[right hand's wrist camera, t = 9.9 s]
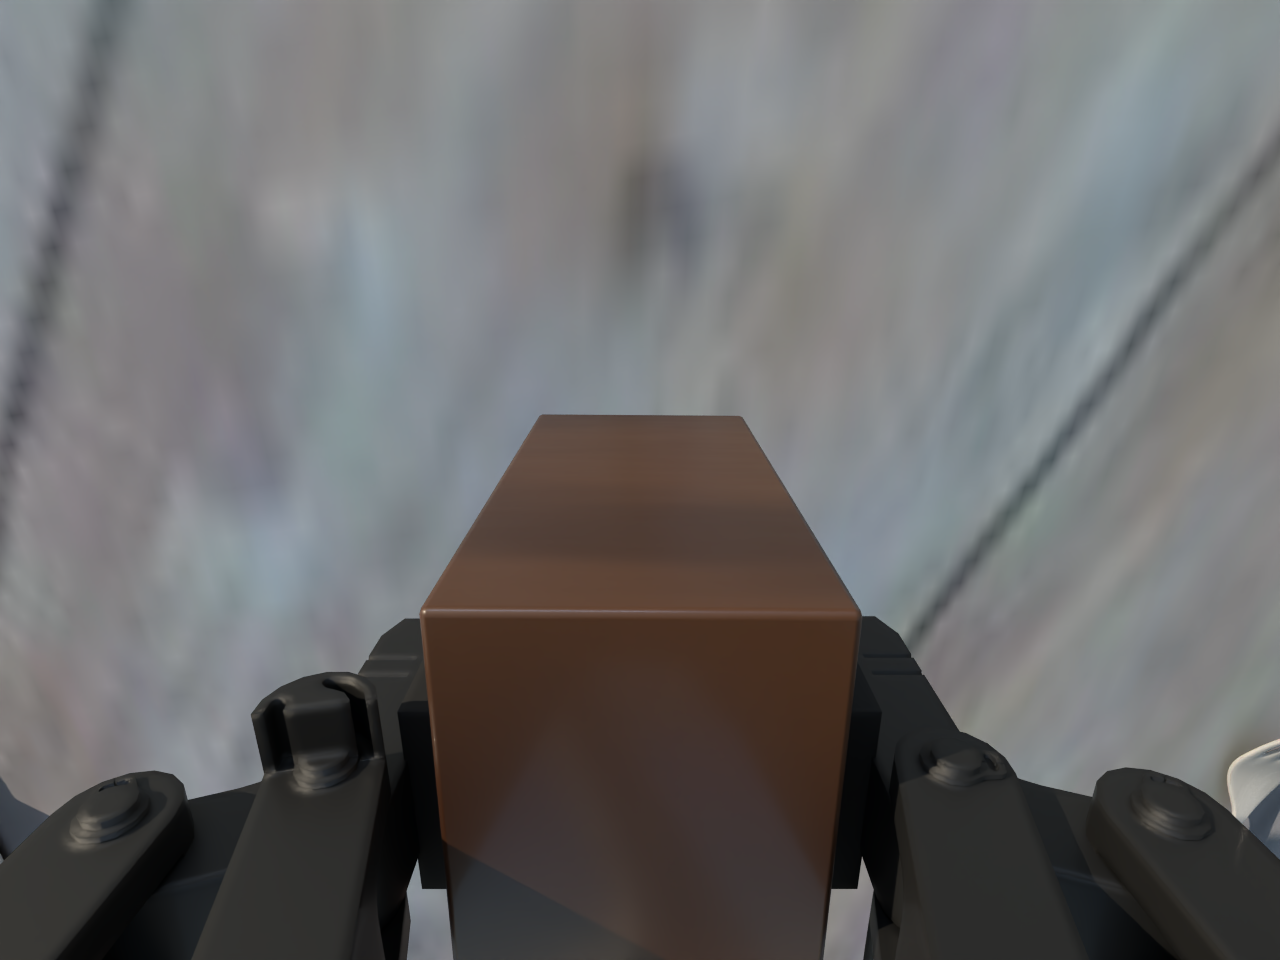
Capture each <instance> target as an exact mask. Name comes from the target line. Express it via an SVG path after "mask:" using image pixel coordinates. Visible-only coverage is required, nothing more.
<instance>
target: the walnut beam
mask: <svg viewBox="0 0 1280 960" xmlns="http://www.w3.org/2000/svg"><path fill="white" fill-rule="evenodd" d="M419 615H420V625H421V635H422V645H423V655H424V665H425V676H426V686H427V696H428V706H429V716H430V726H431V736H432V747H433V757H434V767H435V777H436V787H437V797H438V807H439V817H440V828H441V838H442V848H443V858H444V868H445V878H446V888H447V899H448V909H449V919H450V929H451V939H452V949H453V959H454V960H823V956H824V947H825V939H826V930H827V921H828V913H829V904H830V895H831V887H832V878H833V869H834V860H835V852H836V843H837V834H838V826H839V817H840V808H841V800H842V791H843V782H844V773H845V765H846V756H847V747H848V739H849V730H850V721H851V713H852V704H853V695H854V687H855V678H856V669H857V660H858V652H859V643H860V634H861V626H862V614H861V611H860V609H859V607H858V606H857V604H856V603H855V601H854V599H853V598H852V596H851V594H850V593H849V591H848V589H847V588H846V586H845V585H844V583H843V581H842V580H841V578H840V576H839V575H838V573H837V571H836V570H835V568H834V567H833V565H832V563H831V562H830V560H829V558H828V557H827V555H826V553H825V552H824V550H823V549H822V547H821V545H820V544H819V542H818V540H817V539H816V537H815V535H814V534H813V532H812V531H811V529H810V527H809V526H808V524H807V522H806V521H805V519H804V517H803V516H802V514H801V513H800V511H799V509H798V508H797V506H796V504H795V503H794V501H793V499H792V498H791V496H790V495H789V493H788V491H787V490H786V488H785V486H784V485H783V483H782V481H781V480H780V478H779V477H778V475H777V473H776V472H775V470H774V468H773V467H772V465H771V463H770V462H769V460H768V459H767V457H766V455H765V454H764V452H763V450H762V449H761V447H760V445H759V444H758V442H757V441H756V439H755V437H754V436H753V434H752V432H751V431H750V429H749V427H748V426H747V424H746V423H745V421H744V419H743V418H742V417H740V416H669V415H541V416H539V418H538V419H537V421H536V423H535V424H534V426H533V428H532V429H531V431H530V432H529V434H528V436H527V437H526V439H525V441H524V442H523V444H522V445H521V447H520V449H519V450H518V452H517V454H516V455H515V457H514V458H513V460H512V462H511V463H510V465H509V467H508V468H507V470H506V471H505V473H504V475H503V476H502V478H501V480H500V481H499V483H498V484H497V486H496V488H495V489H494V491H493V493H492V494H491V496H490V497H489V499H488V501H487V502H486V504H485V506H484V507H483V509H482V510H481V512H480V514H479V515H478V517H477V519H476V520H475V522H474V523H473V525H472V527H471V528H470V530H469V532H468V533H467V535H466V536H465V538H464V540H463V541H462V543H461V545H460V546H459V548H458V549H457V551H456V553H455V554H454V556H453V558H452V559H451V561H450V562H449V564H448V566H447V567H446V569H445V570H444V572H443V574H442V575H441V577H440V579H439V580H438V582H437V583H436V585H435V587H434V588H433V590H432V592H431V593H430V595H429V596H428V598H427V600H426V601H425V603H424V605H423V606H422V608H421V611H420V614H419Z"/></svg>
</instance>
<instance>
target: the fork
mask: <svg viewBox="0 0 1280 960" xmlns="http://www.w3.org/2000/svg"><path fill="white" fill-rule="evenodd" d="M1278 746H1280V739H1278V740H1275V741H1272V742H1270V743H1267V744H1265V745H1262V746H1260V747H1258V748H1255V749H1253V750H1251V751H1249V752H1247V753H1245V754H1243V755H1242V756H1240V757H1239V758H1237V759H1236V760H1235V761H1234V762H1233V763H1232V764H1231V766H1230V767H1229V770H1228V773H1227V785H1228V791H1229V796H1230V800H1231V806H1232V815H1233V816H1235V817H1236V818H1237V819H1238V820H1239V821H1240V822H1241V823H1242V824H1243V822H1244V821H1245V820H1246V818H1247V817H1248V816H1249V815H1250V813H1251V812H1252V811H1253V810H1254V809H1255V808H1256V807H1257V806H1258V805H1259V804H1260V803H1261V802H1262V800H1264V799H1265V798H1266V797H1267V796H1268V795H1269V794H1270V793H1271V792H1272V791H1273V790H1274V789H1275V788H1276V787H1277V786H1278V785H1279V784H1280V748H1278V749H1276V750H1273V751H1270V752H1267V751H1269V750H1271V749H1273V748H1275V747H1278ZM1265 752H1267V753H1265Z"/></svg>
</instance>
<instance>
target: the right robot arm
mask: <svg viewBox="0 0 1280 960" xmlns="http://www.w3.org/2000/svg"><path fill="white" fill-rule="evenodd" d="M251 717H252V722H253V726H254V731H255V735H256V739H257V744H258V748H259V753H260V757H261V762H262V766H263V770H264V777H263V779H262V781H261V782H259V783H255V784H252V785H249V786H245V787H242V788H238V789H234V790H230V791H225V792H221V793H217V794H212V795H208V796H204V797H199V798H195V799H191V800H188V799H187V795H186V792H185V788H184V785H183V783H182V782H181V781H179V780H178V779H177V778H176V777H175V776H174V775H173V774H169V773H164V772H159V771H146V772H137V773H129V774H126V775H123V776H120V777H117V778H113V779H110V780H107V781H104V782H101V783H100V784H98V785H96V786H94V787H92V788H90V789H88V790H86V791H84V792H82V793H80V794H78V795H76V796H75V797H73V798H72V799H71V800H70V801H68V802H67V803H66V804H64V805H63V806H62V807H60V808H59V809H58V810H57V811H55V812H54V813H53V814H52V815H51V816H49V817H48V818H47V819H46V820H45V821H44V822H43V823H42V824H41V825H40V826H39V827H38V828H37V829H36V830H35V831H34V832H33V833H32V834H31V835H30V836H29V837H28V838H27V839H26V840H25V841H24V842H23V843H22V844H20V845H19V846H18V847H17V848H16V849H15V850H14V851H13V852H12V853H11V854H10V855H9V856H8V857H7V858H6V859H5V860H4V861H3V862H2V863H1V864H0V960H407V951H408V941H409V932H410V922H411V920H410V912H409V905H408V898H407V892H406V891H407V888H408V885H409V882H410V879H411V876H412V873H413V871H414V868H415V865H416V862H417V859H418V863H419V870H420V877H421V884H422V889H447V888H446V878H445V868H444V858H443V848H442V838H441V828H440V817H439V807H438V797H437V787H436V777H435V767H434V757H433V747H432V736H431V726H430V716H429V706H428V696H427V686H426V676H425V665H424V655H423V645H422V635H421V625H420V619H404V620H402V621H401V622H400V623H398V624H397V625H396V626H394V627H393V628H392V629H390V630H389V631H388V632H386V633H385V634H384V635H382V636H381V638H380V639H379V641H378V642H377V644H376V646H375V647H374V649H373V650H372V652H371V654H370V655H369V660H366V662H365V663H364V665H363V667H362V668H361V670H360V671H359V673H358V675H357V674H353V673H350V672H325V673H320V674H316V675H311V676H307V677H303V678H300V679H298V680H296V681H293V682H291V683H288V684H286V685H284V686H281V687H280V688H278V689H277V690H275V691H274V692H273V693H271V694H270V695H268V696H267V697H265V698H264V699H263V700H262V701H261V702H260V703H259V705H258V706H257V707H256V708H255V710H254V711H253V712H252V714H251ZM862 857H863V860H864V863H865V866H866V868H867V871H868V874H869V877H870V880H871V883H872V886H873V888H874V892H873V898H872V905H871V911H870V918H869V925H868V931H867V938H866V944H865V951H864V959H863V960H873V959H874V960H1280V860H1279V859H1278V858H1277V857H1276V856H1275V855H1274V854H1273V853H1272V852H1271V851H1270V850H1269V849H1268V848H1267V847H1266V846H1265V845H1264V844H1263V843H1262V842H1261V841H1260V840H1258V839H1257V838H1256V837H1255V836H1254V835H1253V834H1252V833H1251V832H1250V831H1249V830H1248V829H1247V828H1246V827H1245V826H1244V825H1243V824H1242V823H1241V822H1240V821H1239V820H1238V819H1237V818H1236V817H1235V816H1233V815H1232V814H1231V813H1230V812H1229V811H1228V810H1227V809H1226V808H1224V807H1223V806H1222V805H1220V804H1219V803H1218V802H1216V801H1215V800H1214V799H1213V798H1211V797H1210V796H1209V795H1207V794H1206V793H1205V792H1203V791H1201V790H1199V789H1197V788H1195V787H1193V786H1191V785H1189V784H1187V783H1185V782H1183V781H1181V780H1179V779H1177V778H1174V777H1171V776H1168V775H1164V774H1161V773H1158V772H1155V771H1152V770H1145V769H1135V768H1121V769H1116V770H1111V771H1107V772H1106V773H1105V774H1104V775H1103V776H1102V777H1101V778H1100V779H1099V780H1097V782H1096V786H1095V790H1094V793H1093V797H1090V796H1085V795H1081V794H1076V793H1072V792H1068V791H1063V790H1059V789H1054V788H1050V787H1046V786H1041V785H1038V784H1035V783H1031V782H1028V781H1025V780H1021V779H1019V778H1017V775H1016V773H1015V772H1014V770H1013V769H1012V767H1011V766H1010V764H1009V763H1008V761H1007V760H1006V758H1005V757H1004V756H1003V755H1001V754H1000V753H999V752H998V751H996V750H995V749H994V748H993V747H991V746H990V745H989V744H988V743H985V742H983V741H981V740H979V739H977V738H975V737H973V736H971V735H969V734H967V733H963V732H960V731H959V730H958V728H957V727H956V725H955V723H954V722H953V720H952V719H951V717H950V715H949V714H948V712H947V711H946V709H945V707H944V706H943V704H942V703H941V701H940V699H939V698H938V696H937V695H936V693H935V691H934V690H933V688H932V687H931V685H930V683H929V682H928V680H927V679H926V677H925V675H922V673H921V669H920V667H919V666H918V664H917V663H916V661H915V659H914V658H911V653H910V651H909V650H908V648H907V647H906V645H905V643H904V642H903V640H902V639H901V637H900V636H899V634H898V633H897V632H895V631H894V630H893V629H891V628H890V627H889V626H887V625H886V624H885V623H883V622H882V621H880V620H879V619H878V618H876V617H875V616H862V626H861V634H860V643H859V652H858V660H857V669H856V678H855V687H854V695H853V704H852V713H851V721H850V730H849V739H848V747H847V756H846V765H845V773H844V782H843V791H842V800H841V808H840V817H839V826H838V834H837V843H836V852H835V860H834V869H833V878H832V887H831V889H857V887H858V880H859V873H860V866H861V859H862Z"/></svg>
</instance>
